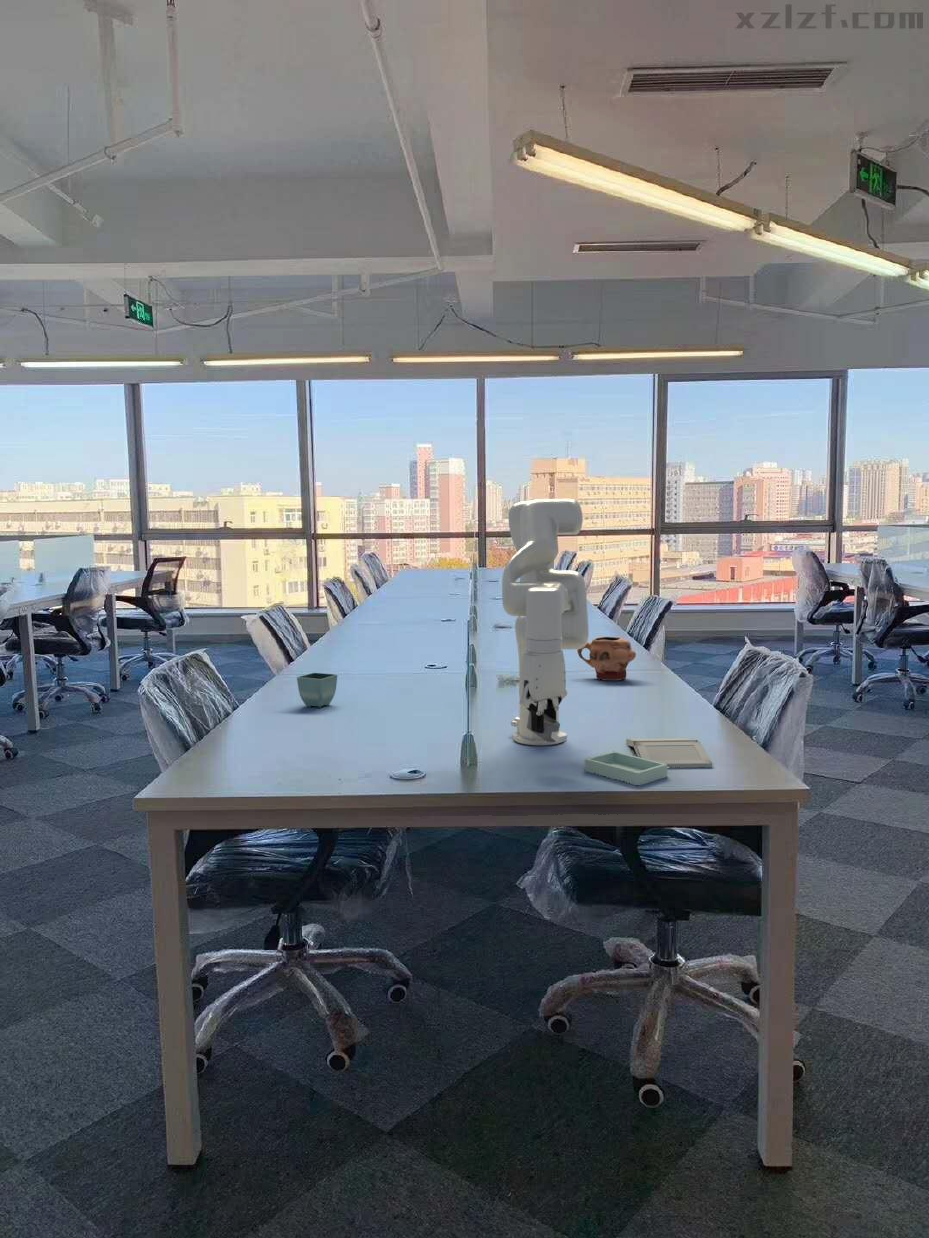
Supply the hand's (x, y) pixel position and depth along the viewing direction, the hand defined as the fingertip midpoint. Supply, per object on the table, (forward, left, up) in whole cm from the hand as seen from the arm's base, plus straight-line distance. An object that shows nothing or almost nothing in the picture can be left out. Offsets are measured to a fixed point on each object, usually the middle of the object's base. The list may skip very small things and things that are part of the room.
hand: (543, 729), depth 189 cm
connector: (0, 0, -1) cm, 1 cm away
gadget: (+10, +29, -10) cm, 32 cm away
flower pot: (-92, -2, -9) cm, 93 cm away
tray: (+14, +10, -9) cm, 19 cm away
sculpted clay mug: (-63, +91, -9) cm, 111 cm away
